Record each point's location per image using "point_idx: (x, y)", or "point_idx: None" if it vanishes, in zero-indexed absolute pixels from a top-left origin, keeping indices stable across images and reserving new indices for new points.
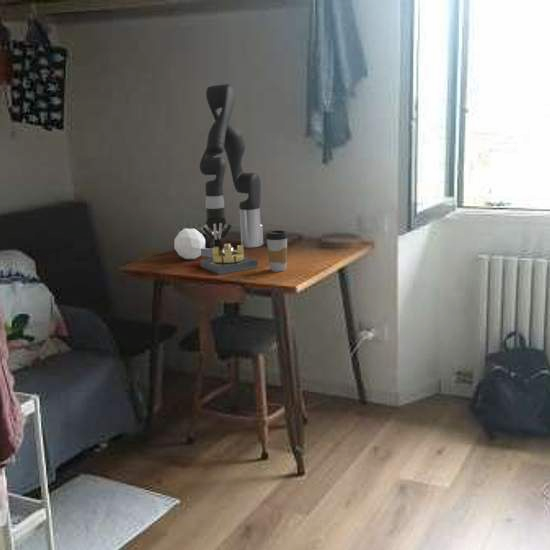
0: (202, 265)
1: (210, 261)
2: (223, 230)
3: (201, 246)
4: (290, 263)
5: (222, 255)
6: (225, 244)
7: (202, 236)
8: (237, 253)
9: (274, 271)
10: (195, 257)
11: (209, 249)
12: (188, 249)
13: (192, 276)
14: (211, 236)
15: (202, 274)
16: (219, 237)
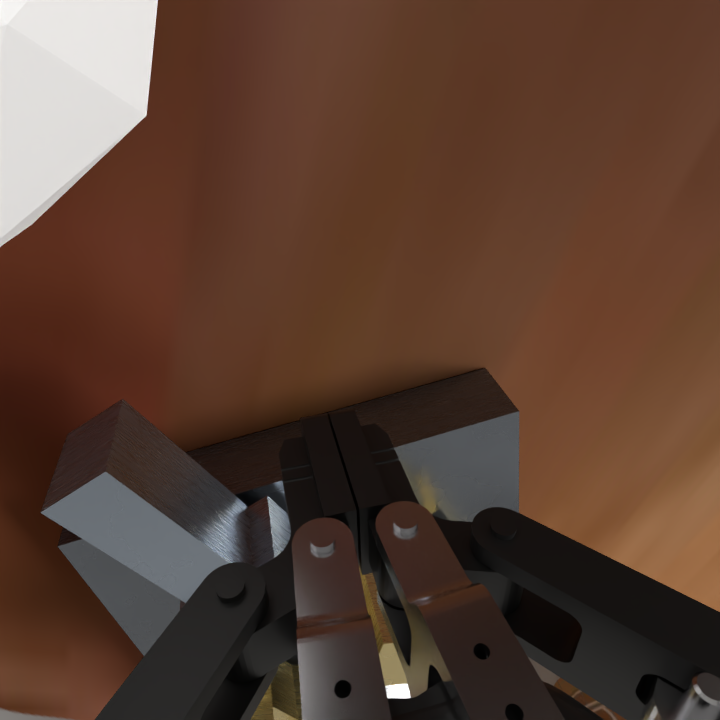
0: None
1: (170, 622)
2: (588, 615)
3: (55, 198)
4: (699, 545)
5: (283, 714)
6: (390, 670)
7: (41, 63)
8: None
9: None
10: None
11: (180, 586)
12: None
13: (3, 706)
14: (248, 679)
15: (88, 675)
16: (400, 608)
